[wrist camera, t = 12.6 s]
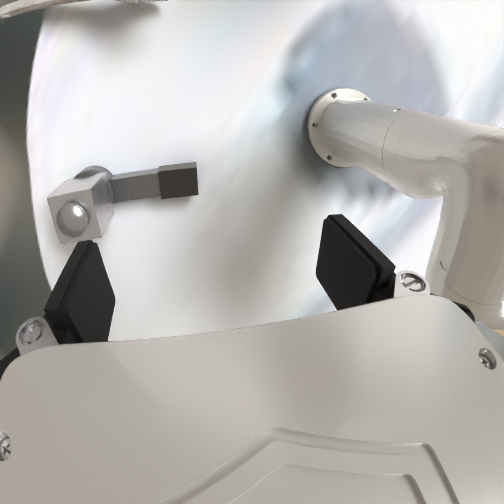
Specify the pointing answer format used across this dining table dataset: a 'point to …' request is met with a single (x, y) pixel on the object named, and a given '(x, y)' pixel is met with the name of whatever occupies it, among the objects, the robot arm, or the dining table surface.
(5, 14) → the wrench
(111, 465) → the robot arm
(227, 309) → the dining table surface
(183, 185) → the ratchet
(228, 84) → the dining table surface
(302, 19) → the dining table surface
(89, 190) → the cube with metal dome
